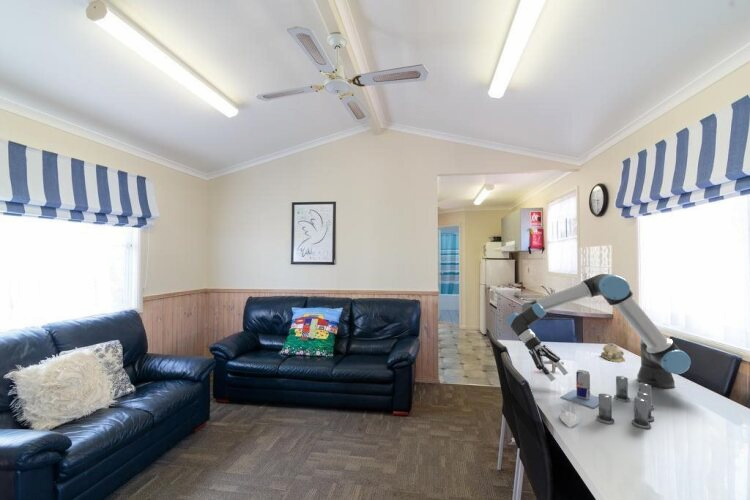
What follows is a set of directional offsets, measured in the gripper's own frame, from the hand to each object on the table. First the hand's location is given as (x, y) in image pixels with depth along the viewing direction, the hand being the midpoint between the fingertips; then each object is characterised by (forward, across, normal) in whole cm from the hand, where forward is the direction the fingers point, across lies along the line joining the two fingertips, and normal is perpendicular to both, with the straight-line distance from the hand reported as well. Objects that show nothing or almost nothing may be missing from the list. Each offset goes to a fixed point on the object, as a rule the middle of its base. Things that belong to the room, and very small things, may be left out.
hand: (560, 377), depth 166 cm
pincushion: (+16, +27, +5) cm, 32 cm away
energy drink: (+12, 0, +2) cm, 12 cm away
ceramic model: (+3, -81, -8) cm, 82 cm away
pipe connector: (-6, -27, -16) cm, 32 cm away
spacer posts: (+25, +1, +14) cm, 29 cm away
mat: (+12, 0, +2) cm, 13 cm away
